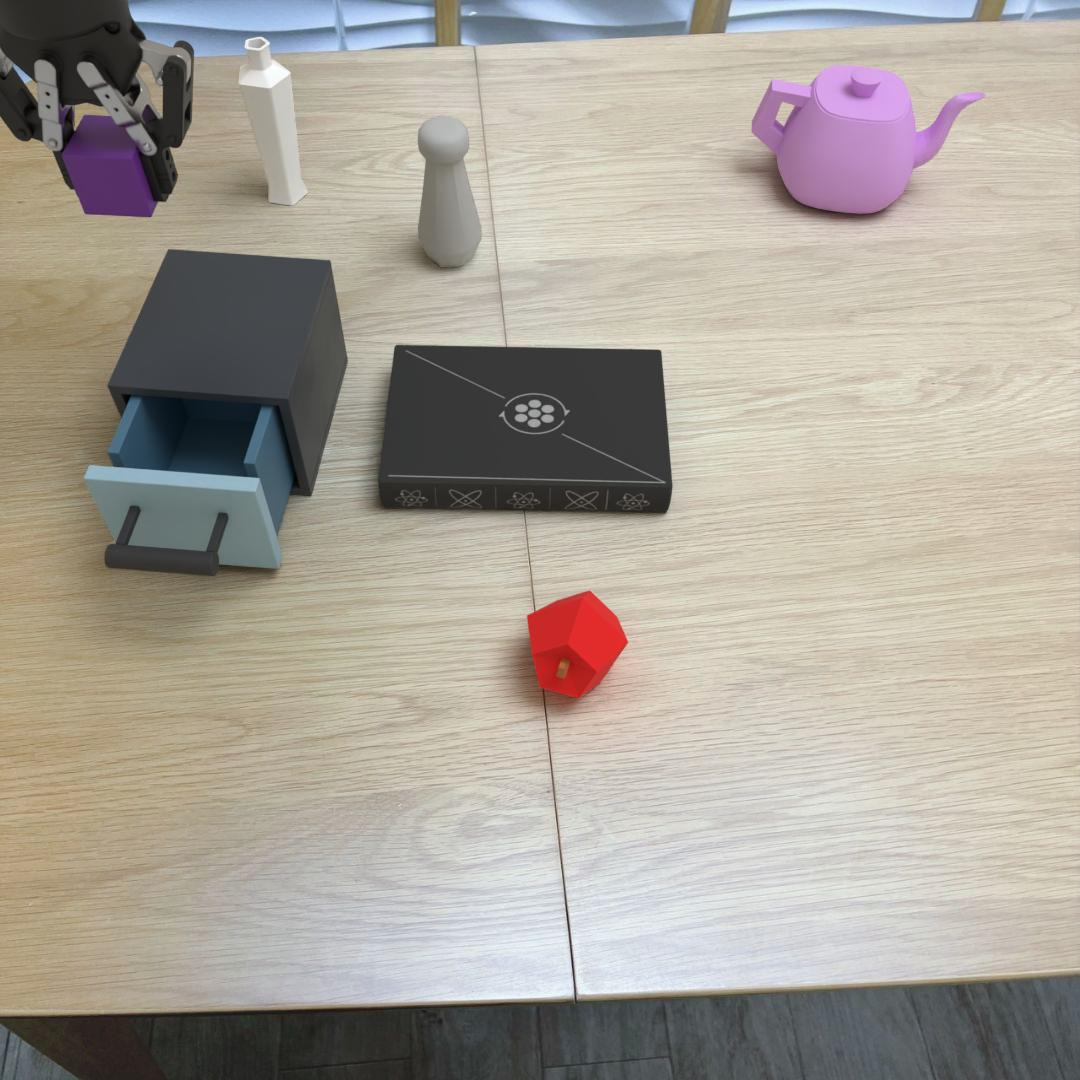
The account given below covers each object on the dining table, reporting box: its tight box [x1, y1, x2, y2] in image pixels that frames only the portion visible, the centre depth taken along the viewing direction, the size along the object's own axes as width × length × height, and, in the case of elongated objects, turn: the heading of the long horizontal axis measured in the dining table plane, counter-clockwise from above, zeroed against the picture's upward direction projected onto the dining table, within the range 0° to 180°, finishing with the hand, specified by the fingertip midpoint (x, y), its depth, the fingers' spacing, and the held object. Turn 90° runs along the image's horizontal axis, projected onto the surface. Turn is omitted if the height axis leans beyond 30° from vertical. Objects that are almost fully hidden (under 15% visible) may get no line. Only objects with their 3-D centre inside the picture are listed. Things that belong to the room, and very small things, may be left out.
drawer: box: [83, 395, 296, 578], centre depth 77 cm, size 18×11×9 cm, turn 175°
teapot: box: [750, 64, 987, 215], centre depth 103 cm, size 13×20×11 cm
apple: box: [526, 589, 629, 699], centre depth 72 cm, size 7×7×8 cm
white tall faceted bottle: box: [237, 36, 309, 206], centre depth 99 cm, size 5×4×15 cm
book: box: [377, 344, 674, 513], centre depth 85 cm, size 22×15×3 cm
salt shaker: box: [417, 115, 483, 268], centre depth 95 cm, size 6×6×13 cm
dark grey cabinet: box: [106, 248, 349, 497], centre depth 83 cm, size 15×13×11 cm
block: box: [62, 114, 159, 218], centre depth 72 cm, size 4×4×4 cm
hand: (125, 191), depth 73 cm, fingers closed on block, 4 cm apart
